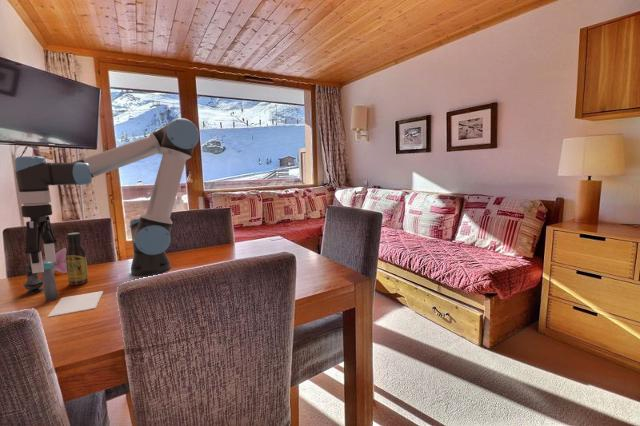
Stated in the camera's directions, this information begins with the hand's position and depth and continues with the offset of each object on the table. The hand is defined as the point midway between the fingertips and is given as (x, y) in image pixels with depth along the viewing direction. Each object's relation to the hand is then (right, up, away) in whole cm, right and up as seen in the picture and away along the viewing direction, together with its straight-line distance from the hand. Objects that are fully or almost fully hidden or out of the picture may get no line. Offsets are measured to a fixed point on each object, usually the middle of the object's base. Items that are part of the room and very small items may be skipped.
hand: (45, 266), depth 108 cm
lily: (-22, -8, +32) cm, 39 cm away
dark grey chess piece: (-12, -11, +10) cm, 19 cm away
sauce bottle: (-1, -9, +17) cm, 20 cm away
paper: (+13, -12, -2) cm, 17 cm away
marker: (+1, -11, +2) cm, 12 cm away
